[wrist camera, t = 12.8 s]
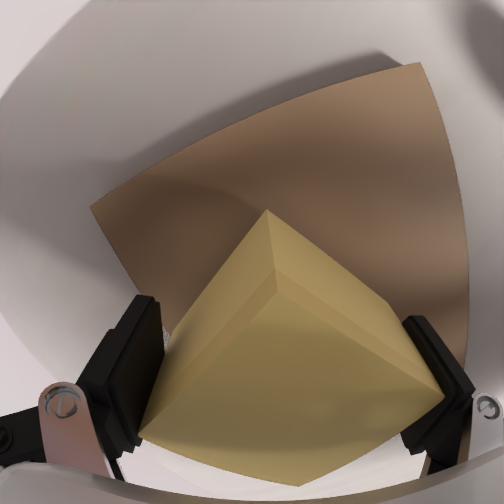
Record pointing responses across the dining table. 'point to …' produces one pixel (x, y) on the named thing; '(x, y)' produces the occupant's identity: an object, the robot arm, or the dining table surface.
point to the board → (310, 200)
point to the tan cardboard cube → (286, 366)
